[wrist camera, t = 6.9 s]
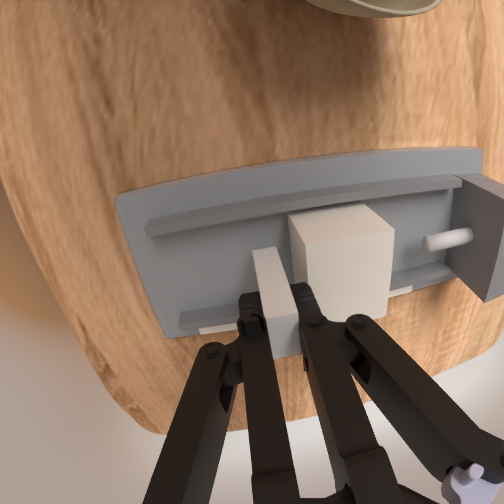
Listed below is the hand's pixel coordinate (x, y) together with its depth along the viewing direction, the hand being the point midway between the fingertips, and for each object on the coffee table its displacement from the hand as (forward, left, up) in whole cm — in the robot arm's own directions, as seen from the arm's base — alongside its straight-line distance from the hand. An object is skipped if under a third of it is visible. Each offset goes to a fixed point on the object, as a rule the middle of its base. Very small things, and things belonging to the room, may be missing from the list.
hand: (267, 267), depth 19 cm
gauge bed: (0, +5, -3) cm, 6 cm away
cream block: (+2, +4, -1) cm, 5 cm away
